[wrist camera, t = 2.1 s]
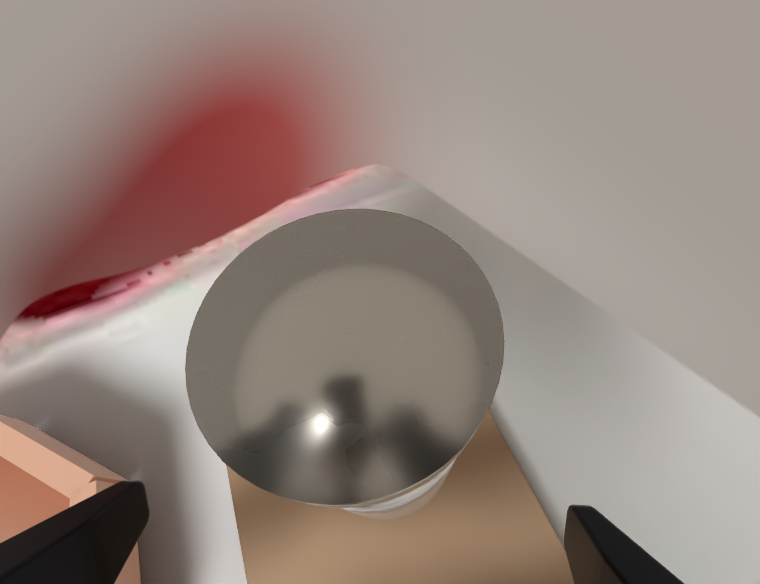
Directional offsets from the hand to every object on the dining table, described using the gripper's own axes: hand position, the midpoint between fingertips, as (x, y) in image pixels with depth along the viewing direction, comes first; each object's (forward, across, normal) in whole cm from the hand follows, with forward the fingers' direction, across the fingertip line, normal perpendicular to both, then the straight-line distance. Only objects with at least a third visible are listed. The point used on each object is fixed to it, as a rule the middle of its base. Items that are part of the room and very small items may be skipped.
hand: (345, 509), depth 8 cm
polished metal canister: (+9, 0, +5) cm, 10 cm away
